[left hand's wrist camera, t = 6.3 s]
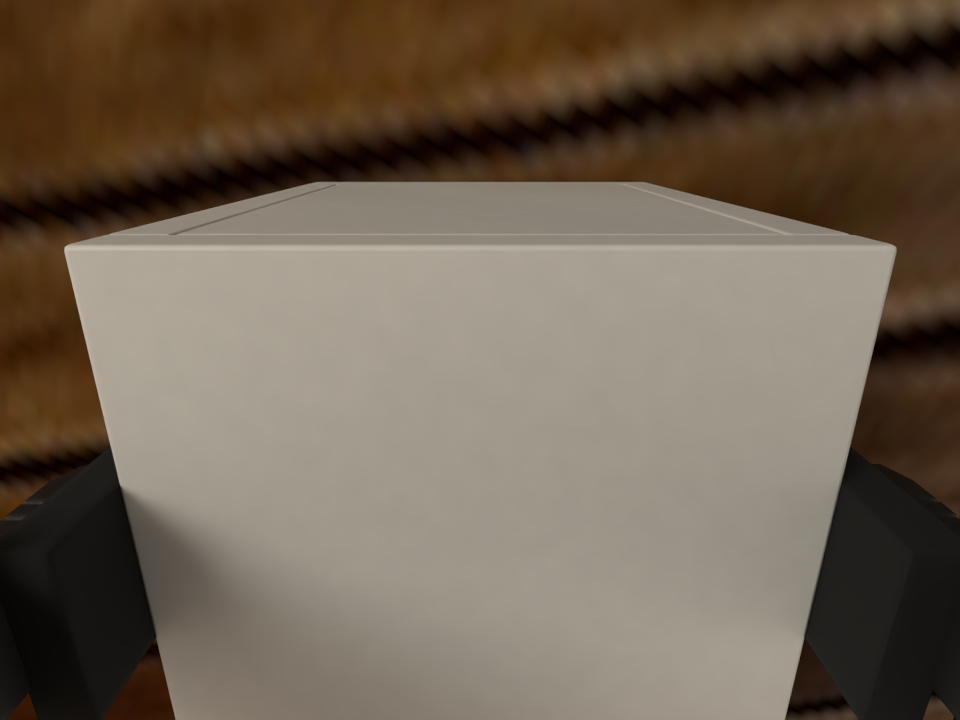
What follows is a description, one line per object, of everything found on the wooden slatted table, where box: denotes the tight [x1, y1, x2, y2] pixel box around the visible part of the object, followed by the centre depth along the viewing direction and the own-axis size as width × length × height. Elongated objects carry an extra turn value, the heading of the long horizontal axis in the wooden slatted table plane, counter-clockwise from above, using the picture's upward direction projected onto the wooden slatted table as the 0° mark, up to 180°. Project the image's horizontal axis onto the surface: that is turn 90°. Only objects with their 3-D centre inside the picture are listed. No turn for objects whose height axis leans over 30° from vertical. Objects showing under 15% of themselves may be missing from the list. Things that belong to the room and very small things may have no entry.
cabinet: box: [64, 182, 897, 720], centre depth 16 cm, size 22×10×12 cm, turn 0°
